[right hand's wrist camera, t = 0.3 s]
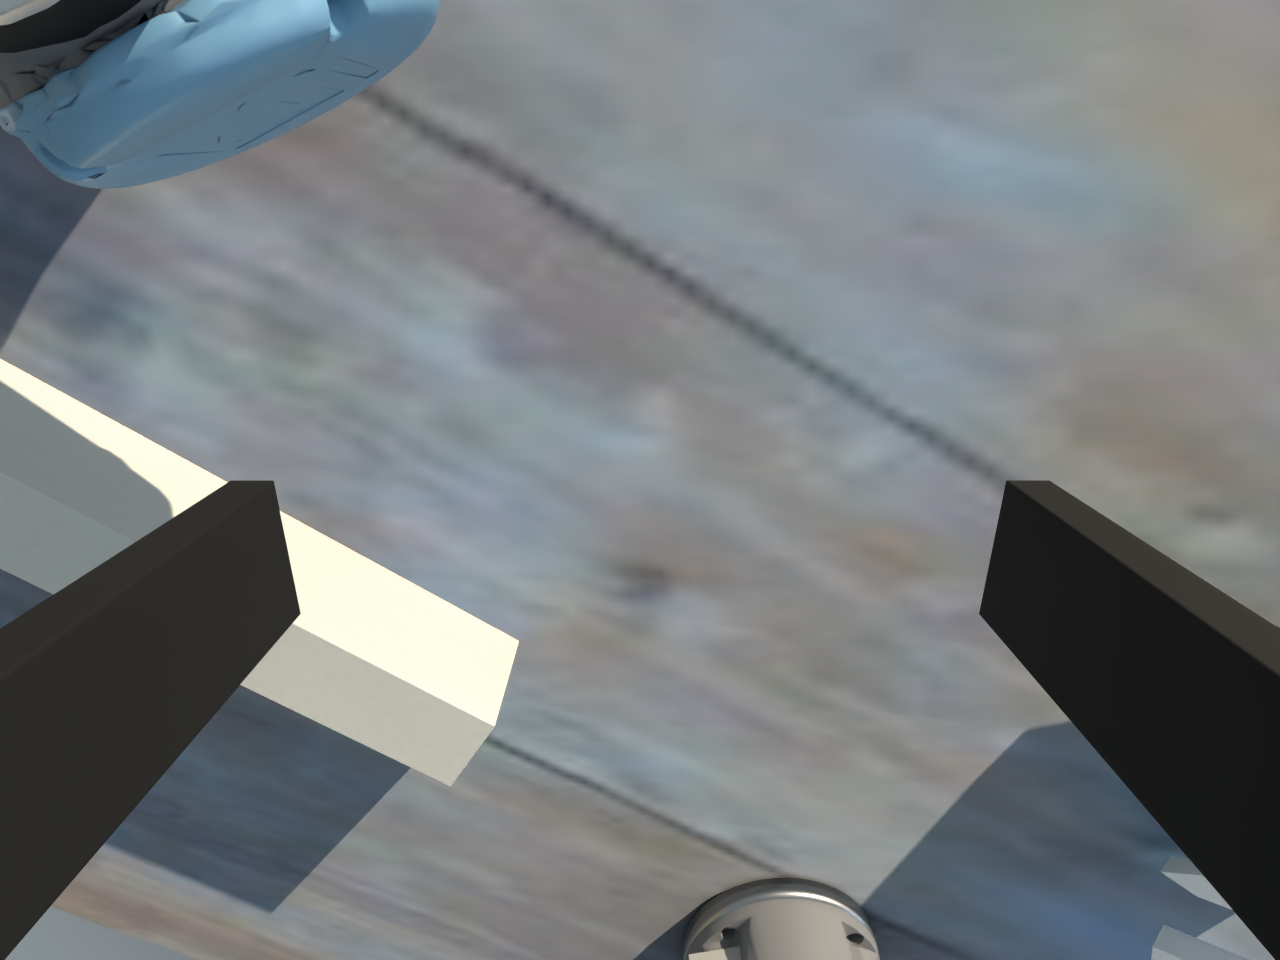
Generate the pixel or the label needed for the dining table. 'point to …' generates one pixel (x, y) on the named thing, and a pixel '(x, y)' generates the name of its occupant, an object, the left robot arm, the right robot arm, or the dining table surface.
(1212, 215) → the dining table surface
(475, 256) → the dining table surface
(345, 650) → the beam
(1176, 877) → the white plastic object
